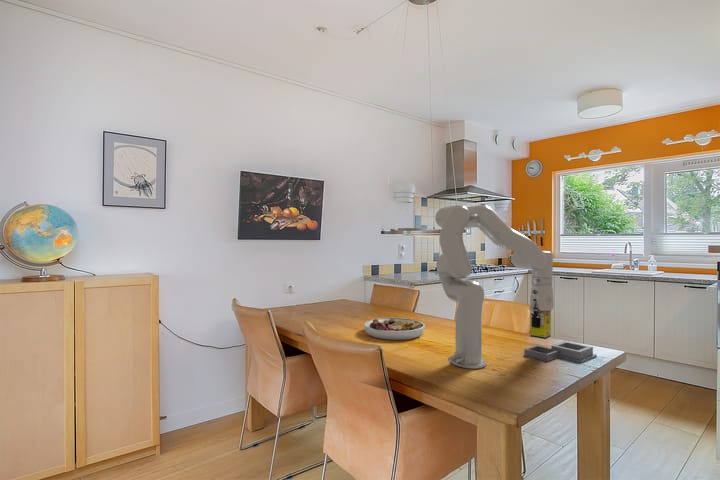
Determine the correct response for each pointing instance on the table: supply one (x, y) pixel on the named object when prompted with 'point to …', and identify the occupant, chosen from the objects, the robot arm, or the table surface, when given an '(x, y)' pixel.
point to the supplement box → (542, 326)
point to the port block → (574, 351)
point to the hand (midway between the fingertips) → (540, 326)
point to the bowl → (394, 328)
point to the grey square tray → (542, 353)
